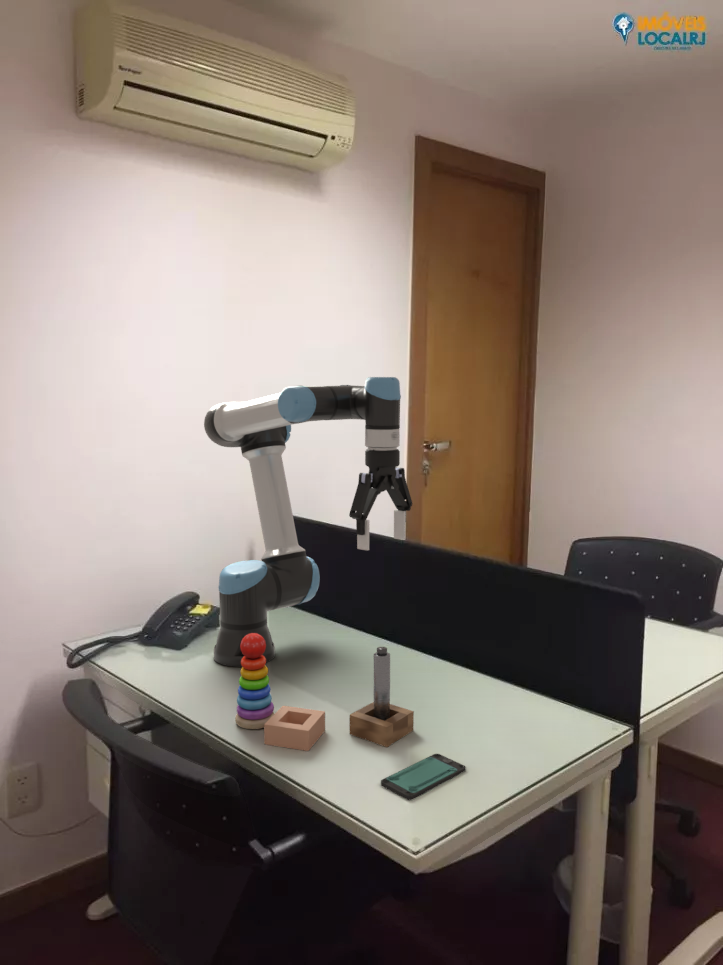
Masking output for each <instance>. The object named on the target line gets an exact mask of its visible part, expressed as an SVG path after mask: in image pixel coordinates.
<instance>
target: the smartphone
mask: <svg viewBox="0 0 723 965" xmlns="http://www.w3.org/2000/svg"><path fill="white" fill-rule="evenodd" d="M464 772H466V765H464V764H461V763H459V762H457V761H455V760H453V759H451V758H449V757H447V756H444V755H442V754H440V753H434V754H431V755H429V756H427V757H425V758H424V759H421V760H419V761H417V762H415V763H414V764H411V765H409V766H407V767H405V768H403V769H400V770H399V771H397V772H395V773H393V774H391V775H389V776H387V777H384V778H383V779H381V780H380V786H381V787H382V788H383V789H386V790H387V791H390V792H392V794H393V793H394V794H396V795H397V796H399V797H401V798H403V799H405V800H406V801H413V800H415V799H417V798H418V797H420V796H422V795H423V794H426V793H427V792H429V791H431V790H433V789H435V788H437V787H438V786H440V785H442V784H444V783H446V782H447V781H450V780H452V779H453V778H455V777H457V776H459V775H461V774H462V773H464Z"/></svg>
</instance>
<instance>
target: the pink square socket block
mask: <svg viewBox="0 0 723 965" xmlns="http://www.w3.org/2000/svg"><path fill="white" fill-rule="evenodd" d="M263 730H264V732H263V733H264V734H263V735H264V736H263V737H264V738H263V739H264V741H263V743H264V745H267V746H272V747H280V748H287V749H293V750H299V751H306V752H309V751H310V750H311V749H312V747H313V746H314V745H315V744H316V743H317V741H318V740H319V739H320V737H321V736H322V735H323V734H324V733H325V731H326V711H325V710H317V709H310V708H305V707H304V708H303V707H295V706H289V705H288V706H287V705H282V706H281V707H280V708H279V709H278V710H277V711H276V712H274V715H273V716H272V717H271V718H270V719H269V720H268V721H267V722H266V723H265V724H264V728H263Z"/></svg>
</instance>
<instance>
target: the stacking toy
mask: <svg viewBox="0 0 723 965" xmlns="http://www.w3.org/2000/svg"><path fill="white" fill-rule="evenodd" d="M240 648H241V652H242V653H243V655H244V657H243V658H242V660H241V665H242V667H241V669H240V677H239V680H238V683H239V686H238V688H237V693H238V695H237V698H236V703H237V706H236V712H237V713H236V714H235V718H234V719H235V720H234V721H235V723H236V724H237V725H238V726H239V727H240V728H243V729H247V730H259V729H264V724H265V723H266V722H267V721H268V720H269V719H270V718H271V717H272V716H273V715H274V714H275V712H274V710H275V705H274V702H272V701H273V696H272V694H271V690H272V689H271V686H270V684H269V683H270V677H269V675H268V674H269V668H268V667H267V664H266V663H267V662H266V658H265V657H264V656H263V655H262V654H263V653H264V652H265V649H266V642H265V640H264V638H263V637H262V636H261V635H259V634H257V633H250V634H248V635H246V636H245V637H244V638H243V639H242V641H241V644H240Z"/></svg>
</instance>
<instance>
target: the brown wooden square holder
mask: <svg viewBox="0 0 723 965" xmlns="http://www.w3.org/2000/svg"><path fill="white" fill-rule="evenodd" d="M414 712H415V711H414V710H410V709H407V708H404V707H402V706H398V705H396V704H395V705H394V704H392V703H390V718H389V719H387V720H385V721H384V720H381V719H378V718H375V717H374V701H372V702H370V703H369V704H366V705H365V706H363V707H361V708H359V709H357V710H356V711H354V712H352V713H350V714H349V735H351V736H354V737H357V738H359V739H362V740H365V741H368V742H370V743H373V744H376V745H380V746H382V747H385V748H388V747H390V746H391V745H393V744H394V743H396V742H397V741H399V740H401V739H403V738H404V737H405V736H407V735H409V734H411V733H412V732H414V724H415V722H414V721H415V720H414V719H415V718H414V716H415V715H414V714H415V713H414Z"/></svg>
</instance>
